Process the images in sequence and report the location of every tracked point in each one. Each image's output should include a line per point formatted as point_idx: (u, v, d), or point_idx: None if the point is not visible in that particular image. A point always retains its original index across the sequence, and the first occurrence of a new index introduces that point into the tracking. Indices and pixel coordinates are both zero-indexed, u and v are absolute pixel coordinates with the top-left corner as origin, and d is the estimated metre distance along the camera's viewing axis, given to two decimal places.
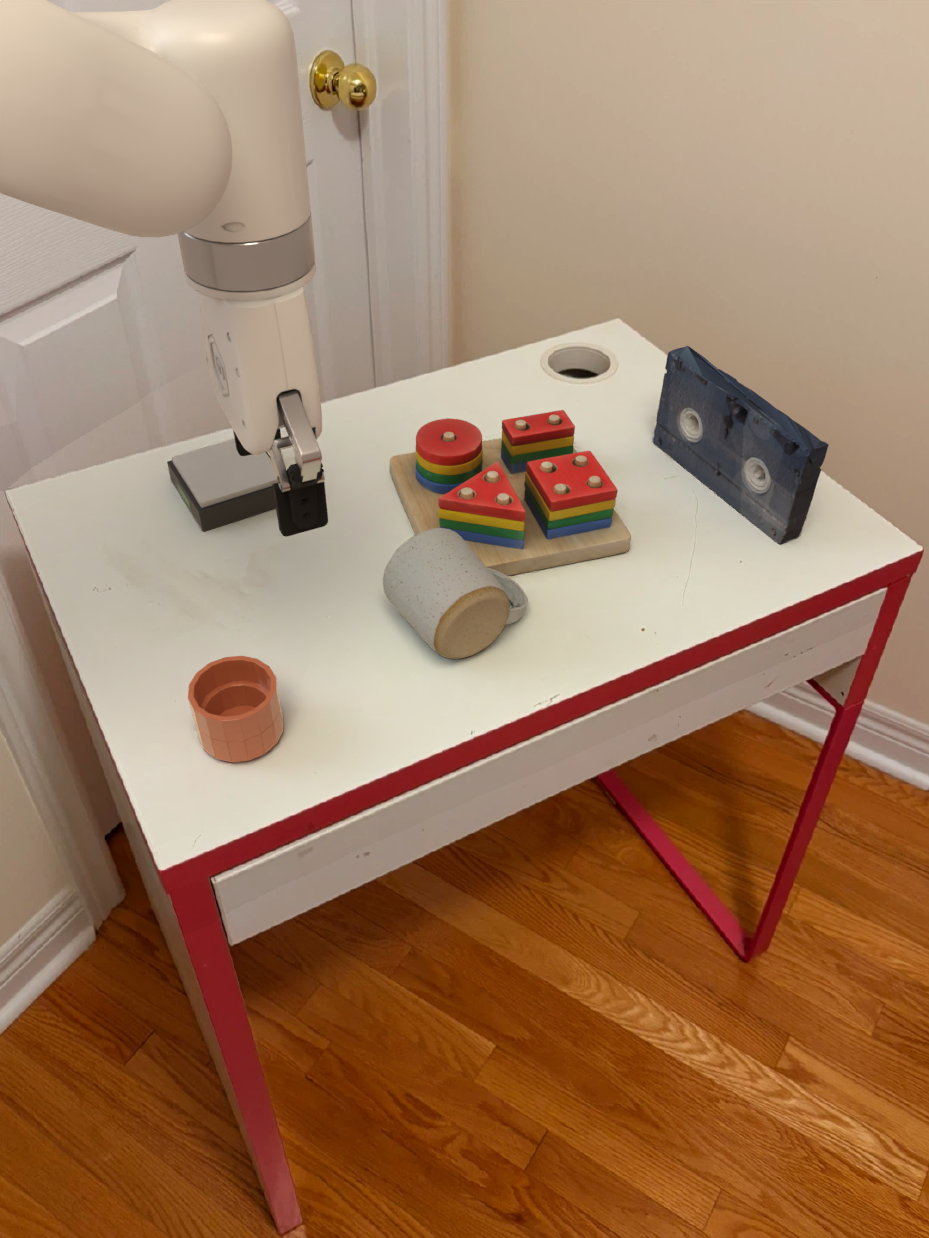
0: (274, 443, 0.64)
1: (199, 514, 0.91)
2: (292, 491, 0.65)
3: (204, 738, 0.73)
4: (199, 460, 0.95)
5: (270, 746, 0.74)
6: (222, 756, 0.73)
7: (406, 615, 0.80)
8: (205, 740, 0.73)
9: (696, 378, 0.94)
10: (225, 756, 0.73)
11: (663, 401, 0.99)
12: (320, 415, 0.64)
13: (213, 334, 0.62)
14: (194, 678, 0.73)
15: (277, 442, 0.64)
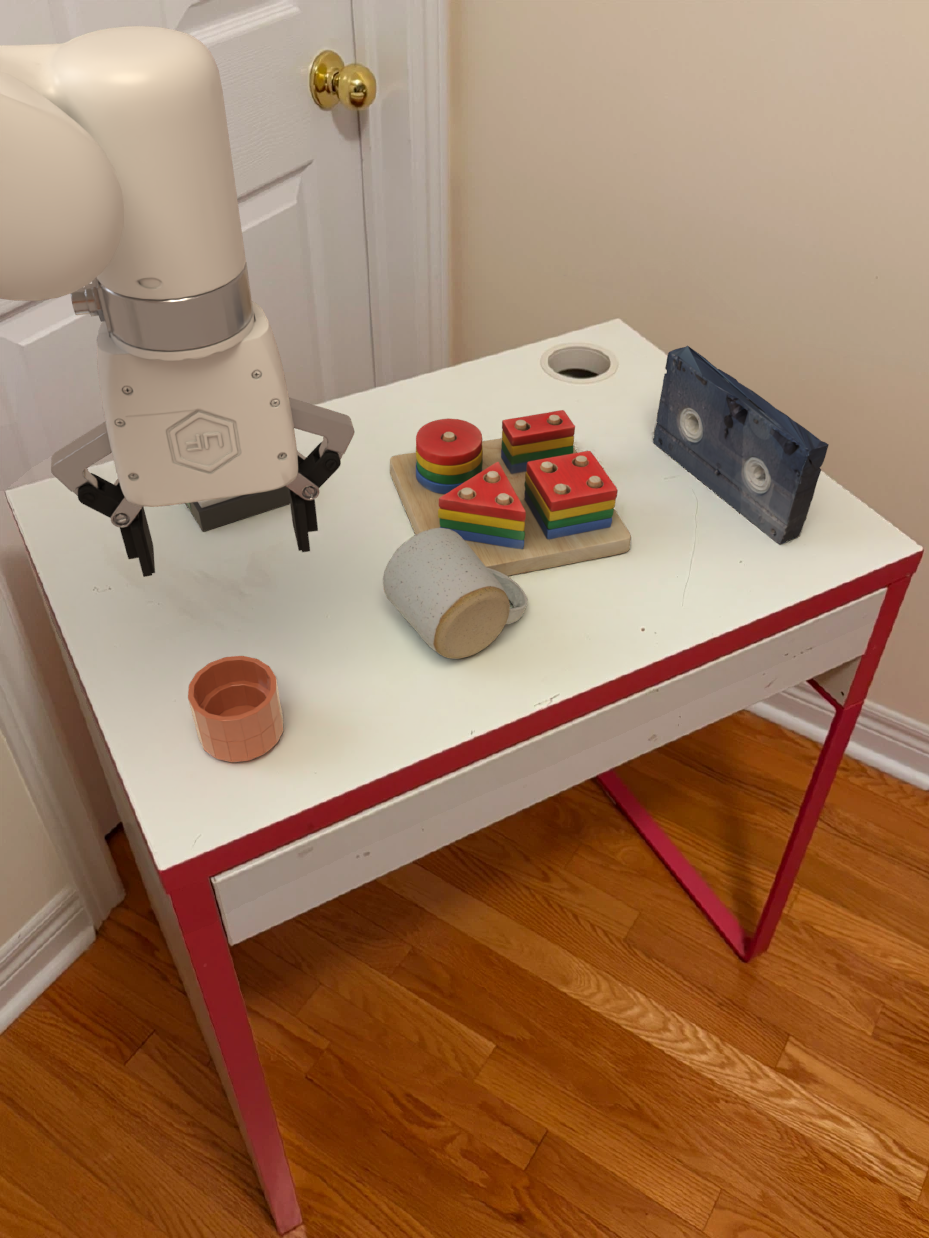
0: None
1: (199, 514, 0.91)
2: None
3: (204, 738, 0.73)
4: None
5: (270, 746, 0.74)
6: (222, 756, 0.73)
7: (406, 615, 0.80)
8: (205, 740, 0.73)
9: (696, 378, 0.94)
10: (225, 756, 0.73)
11: (663, 401, 0.99)
12: None
13: (202, 406, 0.56)
14: (194, 678, 0.73)
15: None
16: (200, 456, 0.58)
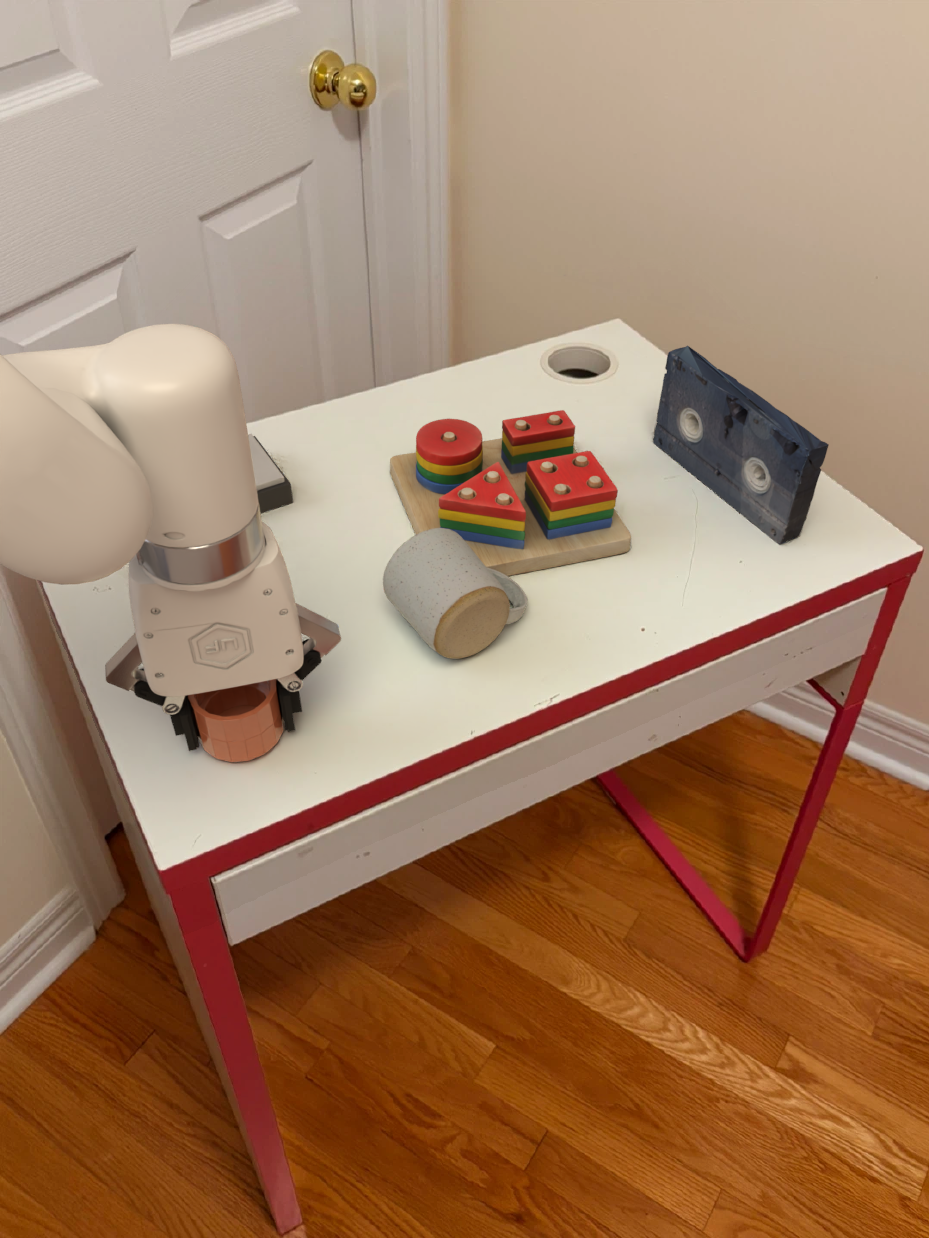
0: None
1: None
2: None
3: (204, 738, 0.73)
4: None
5: (270, 746, 0.74)
6: (222, 756, 0.73)
7: (406, 615, 0.80)
8: (205, 740, 0.73)
9: (696, 378, 0.94)
10: (225, 756, 0.73)
11: (663, 401, 0.99)
12: None
13: (220, 619, 0.64)
14: None
15: None
16: (218, 656, 0.66)
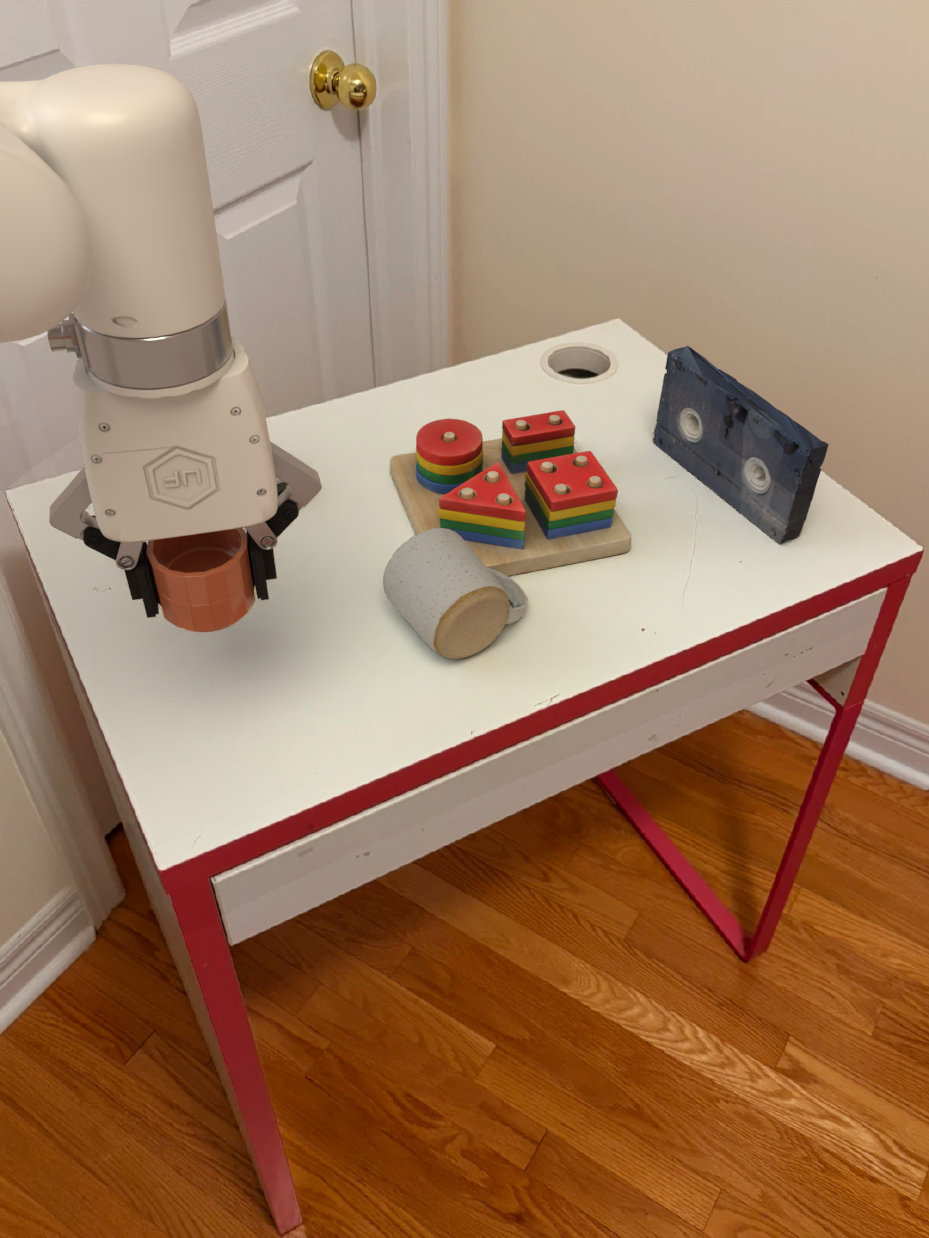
0: None
1: None
2: None
3: (164, 603, 0.64)
4: None
5: (240, 615, 0.65)
6: (185, 624, 0.64)
7: (406, 615, 0.80)
8: (165, 605, 0.64)
9: (696, 378, 0.94)
10: (188, 624, 0.64)
11: (663, 401, 0.99)
12: None
13: (181, 443, 0.55)
14: None
15: None
16: (178, 492, 0.58)
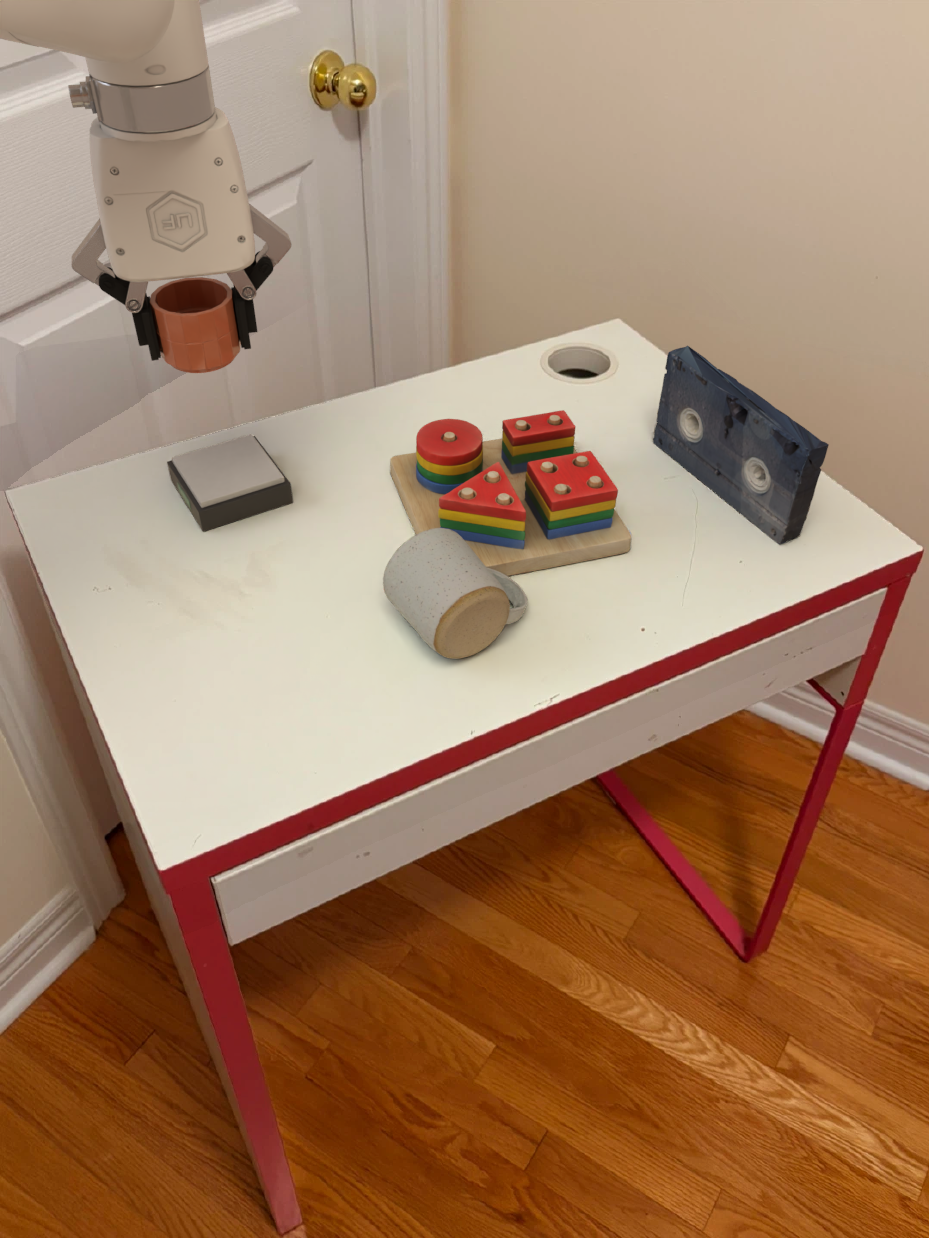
0: None
1: (199, 514, 0.91)
2: None
3: (165, 346, 0.78)
4: (199, 460, 0.95)
5: (227, 359, 0.80)
6: (182, 364, 0.79)
7: (406, 615, 0.80)
8: (166, 347, 0.78)
9: (696, 378, 0.94)
10: (185, 363, 0.79)
11: (663, 401, 0.99)
12: None
13: (175, 187, 0.70)
14: (156, 290, 0.79)
15: None
16: (174, 235, 0.72)
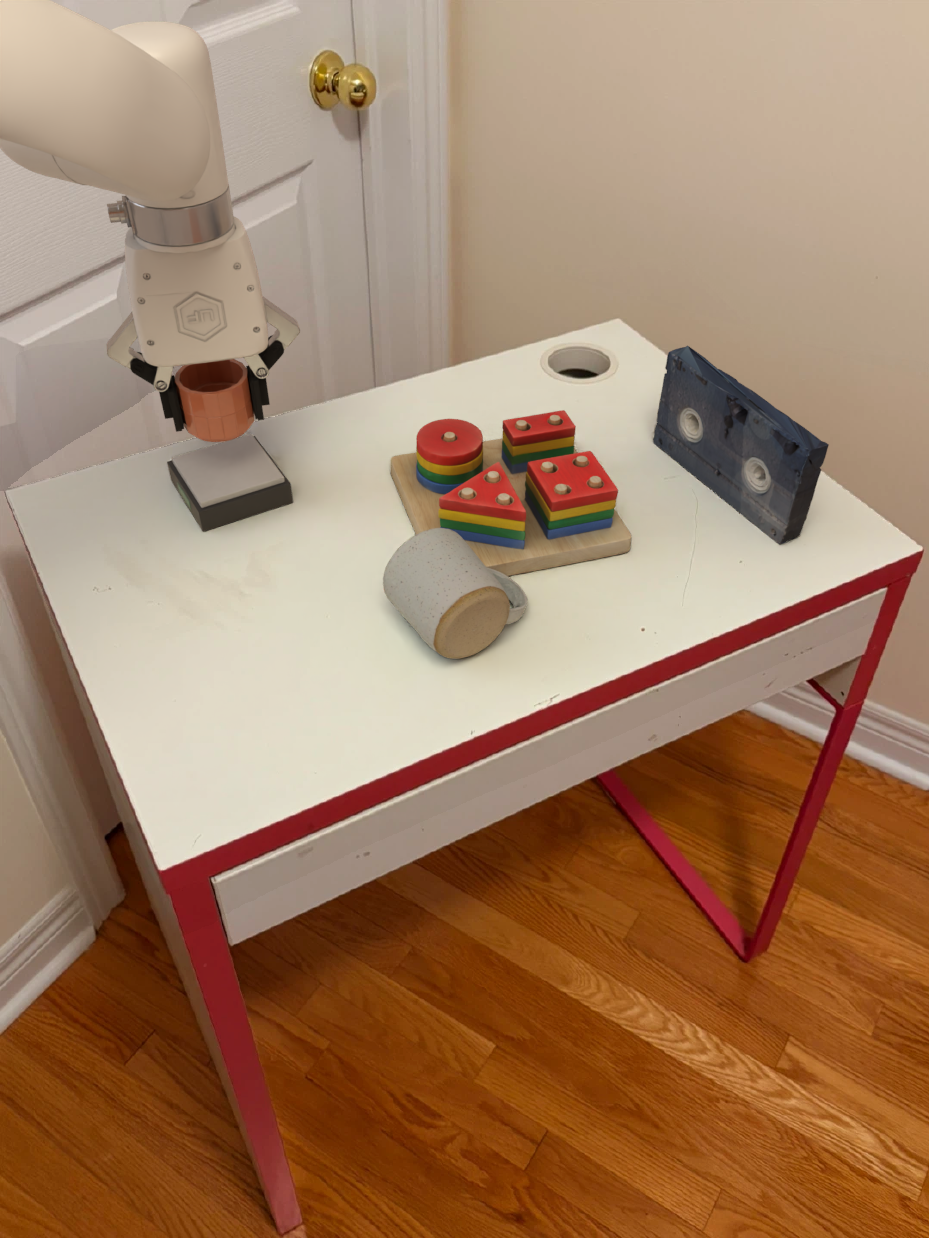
0: None
1: (199, 514, 0.91)
2: None
3: (188, 419, 0.88)
4: (199, 460, 0.95)
5: (243, 429, 0.90)
6: (203, 434, 0.89)
7: (406, 615, 0.80)
8: (189, 420, 0.88)
9: (696, 378, 0.94)
10: (205, 434, 0.89)
11: (663, 401, 0.99)
12: None
13: (199, 289, 0.80)
14: (180, 369, 0.89)
15: None
16: (198, 328, 0.82)
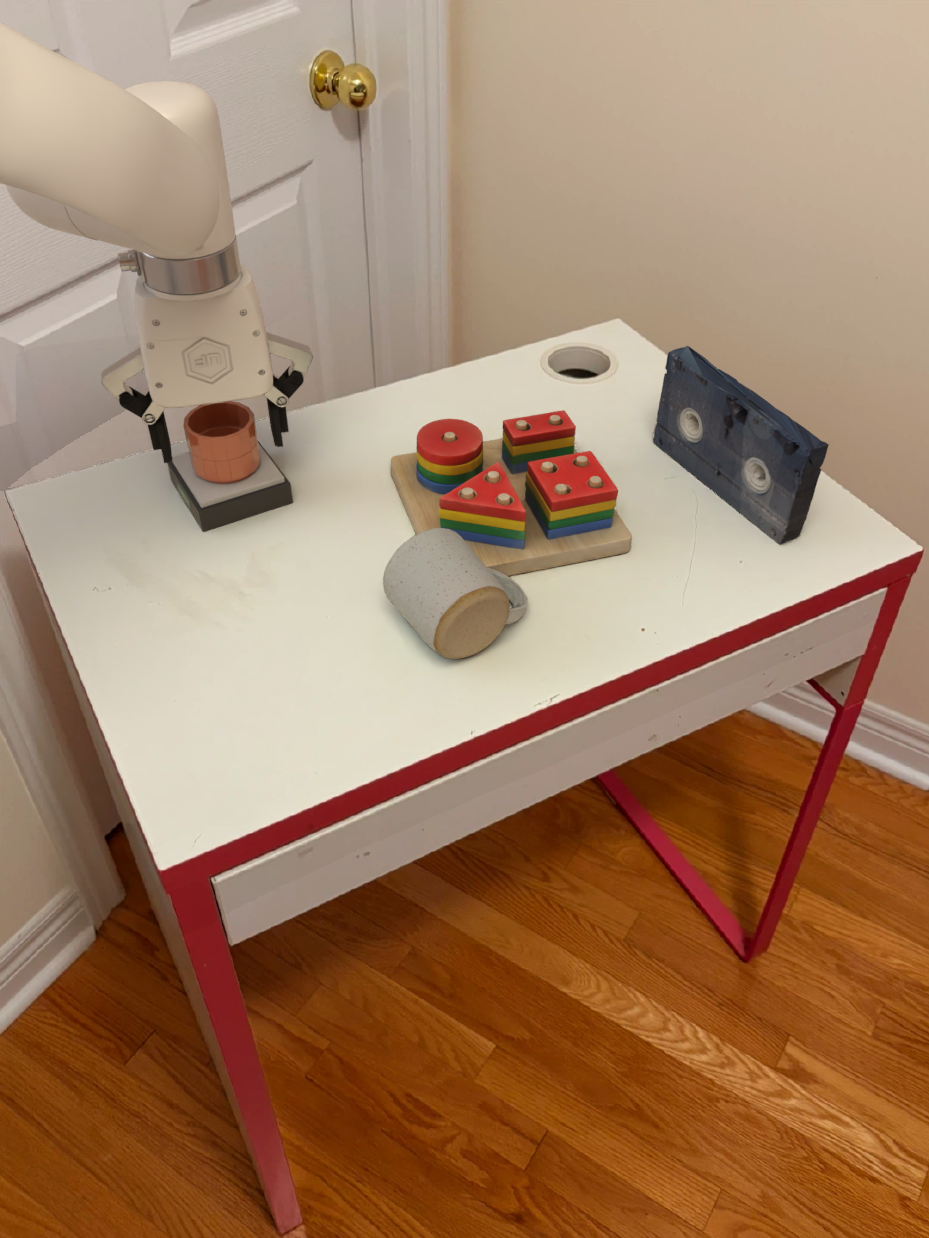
0: None
1: (199, 514, 0.91)
2: None
3: (196, 461, 0.91)
4: None
5: (249, 471, 0.93)
6: (211, 476, 0.92)
7: (406, 615, 0.80)
8: (197, 463, 0.91)
9: (696, 378, 0.94)
10: (213, 476, 0.92)
11: (663, 401, 0.99)
12: None
13: (206, 334, 0.82)
14: (188, 414, 0.92)
15: None
16: (205, 371, 0.85)
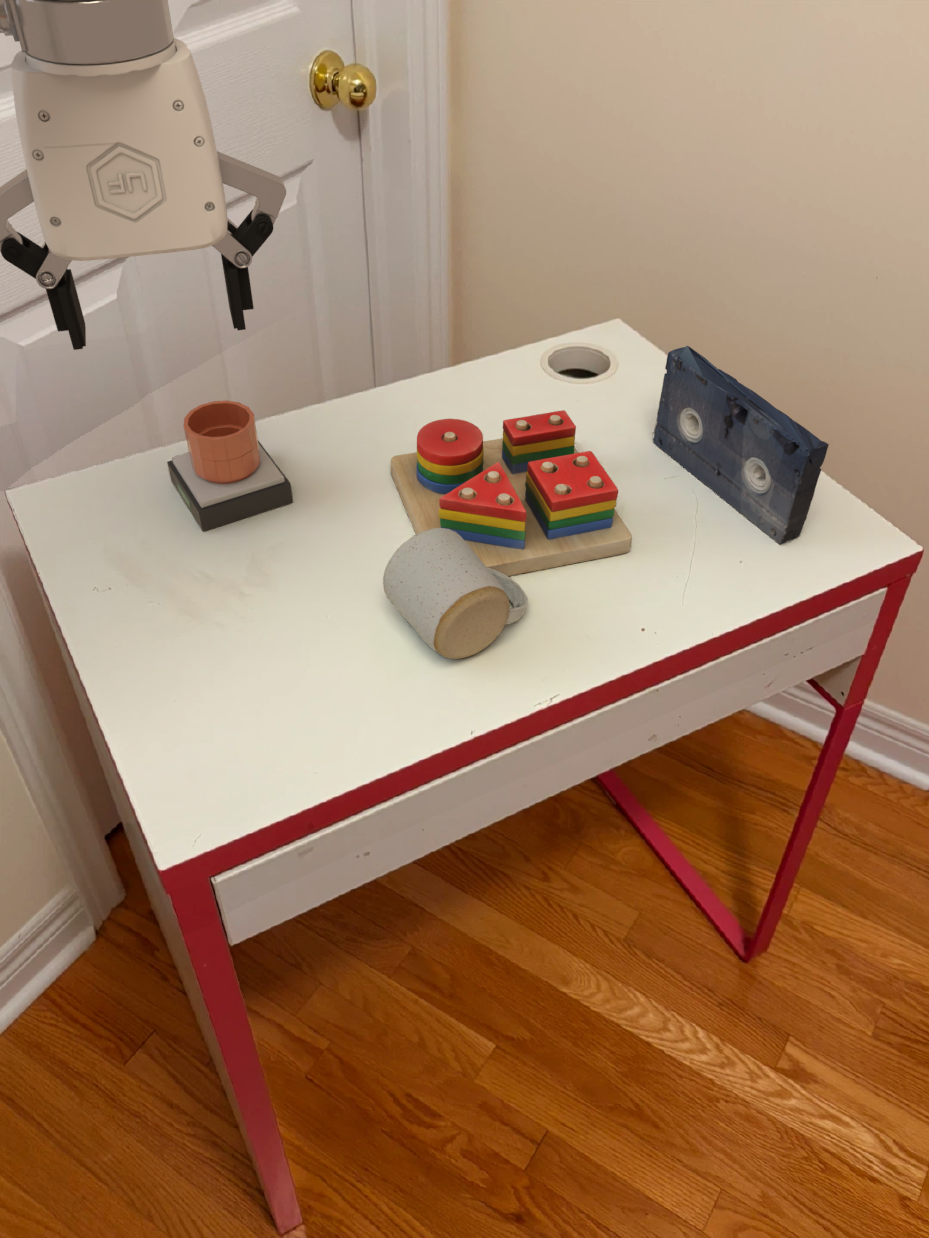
0: None
1: (199, 514, 0.91)
2: None
3: (196, 461, 0.91)
4: None
5: (249, 471, 0.93)
6: (211, 476, 0.92)
7: (406, 615, 0.80)
8: (197, 463, 0.91)
9: (696, 378, 0.94)
10: (213, 476, 0.92)
11: (663, 401, 0.99)
12: None
13: (123, 139, 0.55)
14: (188, 414, 0.92)
15: None
16: (124, 201, 0.57)
